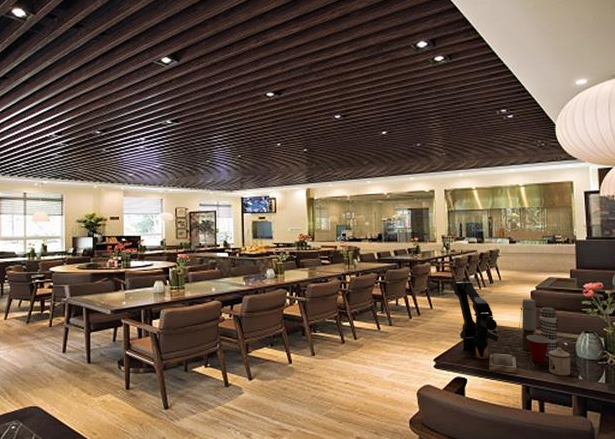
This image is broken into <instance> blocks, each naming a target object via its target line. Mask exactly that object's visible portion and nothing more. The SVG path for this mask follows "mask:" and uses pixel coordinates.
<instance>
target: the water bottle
mask: <svg viewBox="0 0 615 439" xmlns="http://www.w3.org/2000/svg"><path fill="white" fill-rule="evenodd" d="M521 304H522V305H521V307H520V317H519V320H522V327H521V323H519V325H518V326H519V327H518V331H519V333H521V334H523V333H524V329H525V328H529V329H533V330H534V335H537V316H536V315H537V310H536V309H537V307H536V300H535V299H529V298H523V299H522V303H521ZM520 328H521V329H520Z"/></svg>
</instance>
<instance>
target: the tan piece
mask: <svg viewBox="0 0 615 439" xmlns="http://www.w3.org/2000/svg"><path fill="white" fill-rule="evenodd" d="M488 363H489V364H488V367H489V370H490V371H499V372H507V373H514V374H515V373H516V374H517V369H518V368H517V360H516V356H512V366H509V365H506V366H503V365H499V364H494V360H493V353H492V354H491V353H490V354H489V362H488Z"/></svg>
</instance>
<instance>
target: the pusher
mask: <svg viewBox="0 0 615 439" xmlns="http://www.w3.org/2000/svg"><path fill="white" fill-rule="evenodd" d="M492 355H493V364H494V365H503V366H512V357H513V356H512V354H502V353H495V352H493V353H492ZM512 367H513V366H512Z"/></svg>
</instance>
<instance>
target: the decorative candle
mask: <svg viewBox="0 0 615 439" xmlns="http://www.w3.org/2000/svg"><path fill="white" fill-rule="evenodd" d="M539 312H540V316H539V318H538V323H539V329H538V330H539V333H540V336H543V337H546V338H548V339H550V342H549V344H548V347H547V352H546V357H549V354H548V353H549V352H550V351H554V350H557V348H559V345H558V339H557V338H558V337H557V335H558V328H559V326H558V325H559V323H558V321H559V320H558V317H557V312H558V311H557V310H556V309H555V308H554V307H547V306H546V307H542V308H541V309H540V310H539Z"/></svg>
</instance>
